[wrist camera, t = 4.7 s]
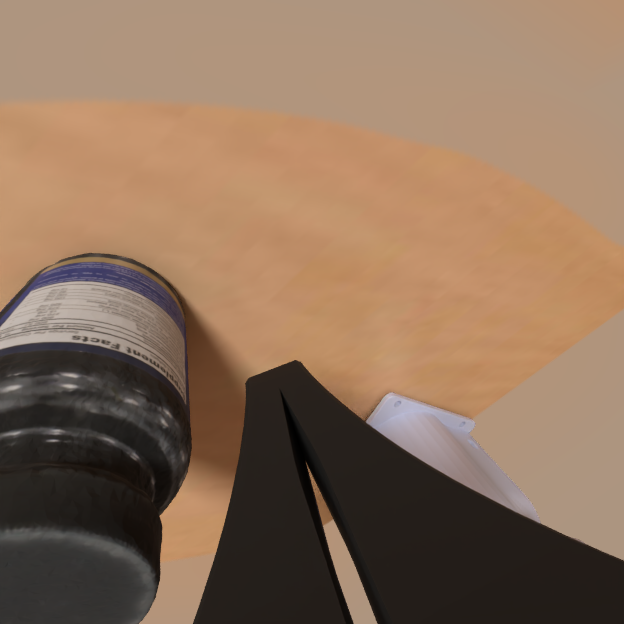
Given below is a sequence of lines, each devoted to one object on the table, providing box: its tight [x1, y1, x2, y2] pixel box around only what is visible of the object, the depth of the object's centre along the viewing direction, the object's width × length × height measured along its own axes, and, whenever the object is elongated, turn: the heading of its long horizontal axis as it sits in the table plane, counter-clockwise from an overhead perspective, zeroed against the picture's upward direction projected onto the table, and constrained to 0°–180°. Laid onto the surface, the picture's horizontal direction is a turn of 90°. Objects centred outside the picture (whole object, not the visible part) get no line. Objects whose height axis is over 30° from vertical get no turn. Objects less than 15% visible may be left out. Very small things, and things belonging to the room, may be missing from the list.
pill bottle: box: [0, 253, 192, 624], centre depth 11 cm, size 6×6×11 cm
